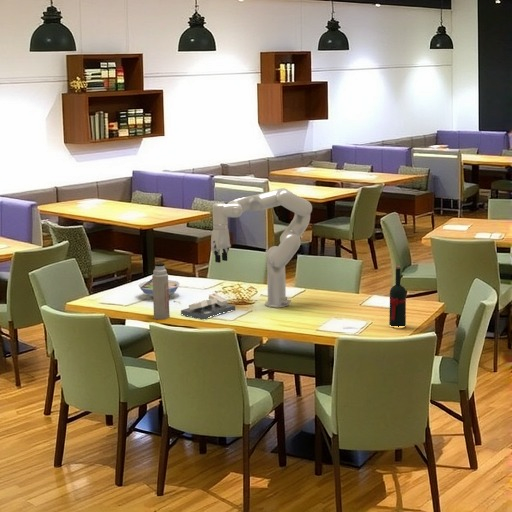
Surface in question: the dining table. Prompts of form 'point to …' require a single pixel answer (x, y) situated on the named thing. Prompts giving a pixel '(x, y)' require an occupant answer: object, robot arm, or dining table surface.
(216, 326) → the dining table surface
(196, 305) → the rocker
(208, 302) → the rocker
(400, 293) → the wine bottle
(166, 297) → the thermos bottle
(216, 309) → the console
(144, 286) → the ramen bowl
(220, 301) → the rocker
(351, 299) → the dining table surface
